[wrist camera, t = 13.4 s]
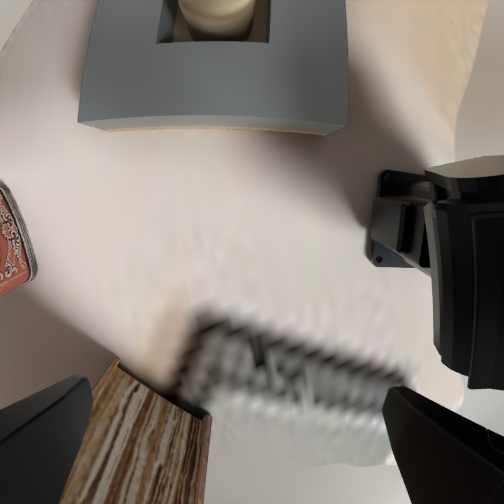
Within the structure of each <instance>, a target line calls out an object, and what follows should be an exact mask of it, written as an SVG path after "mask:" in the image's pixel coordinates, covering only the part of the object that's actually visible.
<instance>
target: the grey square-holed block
mask: <svg viewBox="0 0 504 504" xmlns="http://www.w3.org/2000/svg"><path fill="white" fill-rule="evenodd" d="M78 123H81V124H84V125H88V126H91V127H95V128H98V129H102V130H105V131H109V132H112V131H126V130H145V129H181V128H208V129H244V130H263V131H278V132H291V133H302V134H313V135H322V136H326V135H328V134H331V133H333V132H335V131H337V130H339V129H342V128H344V127H346V126H348V41H347V19H346V3H345V0H255V8H254V17H253V26H252V31H251V33H250V35H249V37H248V38H247V39H246V40H245V41H244V42H233V41H200V42H195V41H194V40H193V39H192V37H191V35H190V33H189V30H188V27H187V24H186V22H185V19H184V16H183V13H182V10H181V8H180V5H179V2H178V0H99V1H98V5H97V8H96V12H95V16H94V21H93V25H92V29H91V34H90V39H89V44H88V49H87V54H86V60H85V66H84V72H83V79H82V86H81V94H80V102H79V112H78Z"/></svg>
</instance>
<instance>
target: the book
mask: <svg viewBox="0 0 504 504" xmlns="http://www.w3.org/2000/svg"><path fill="white" fill-rule="evenodd" d="M119 362H120V360H119V359H117V358H115V359H114V360H113V361H112V363H111V364H110V366H109V367H108V368H107V370H106V371H105V373H104V374H103V376H102V377H101V378H100V380H99V381H98V383H97V384H96V386H95V387H94V389H93V390H92V395H93V400H94V402H93V407H92V411H91V414H90V417H89V421H88V424H87V428H86V431H85V435H84V438H83V442H82V445H81V447H80V450H79V452H78V455H77V457H76V460H75V462H74V465H73V467H72V470H71V472H70V475H69V478H68V480H67V483H66V486H65V488H64V491H63V494H62V496H61V499H60V502H59V504H203V503H204V493H205V482H206V472H207V463H208V453H209V443H210V434H211V425H212V417H211V416H209V415H208V414H207V415H206V416H204V417H203V418H202V419H201V420H199V419H198V418H196V417H194V416H192V415H191V414H189V413H187V412H186V411H184V410H182V409H181V408H179V407H177V406H176V405H174V404H172V403H171V402H169V401H167V400H166V399H164V398H163V397H161V396H160V395H158V394H156V393H155V392H153V391H152V390H150V389H149V388H147V387H146V386H144V385H143V384H141V383H140V382H138V381H137V380H135V379H134V378H133V377H131V376H130V375H128V374H127V373H125V372H124V371H123V370H121V369H120V368H118V367H117V365H118V363H119Z"/></svg>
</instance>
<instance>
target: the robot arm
mask: <svg viewBox="0 0 504 504" xmlns="http://www.w3.org/2000/svg"><path fill="white" fill-rule="evenodd" d="M424 170H425V175H426V176H423V175H417V174H411V173H405V172H399V171H392V170H382V171H381V172H380V173H379V176H378V189H377V198H376V199H375V200H374V204H373V215H372V225H371V234H370V237H371V238H372V239H373V241H372V249H371V257H370V260H371V263H372V264H373V265H375V266H377V267H402V268H417V269H419V270H420V271H422V272H424V273H425V274H427V275H429V276H430V277H431V279H432V296H433V328H434V345H435V347H436V349H437V351H438V353H439V354H440V355H441V362H442V363H443V364H444V365H446V366H447V367H448V368H450V369H451V370H453V371H455V372H458V373H460V374H462V375H465V376H468V377H469V378H468V385H467V387H468V388H469V389H497V390H504V155H501V156H500V155H499V156H483V157H478V158H473V159H468V160H464V161H459V162H454V163H449V164H445V165H440V166H436V167H431V168H427V169H424ZM385 174H387V175H388V180H387V181H385V179H384V176H385ZM378 256H380V260H379V261H378V262H376V258H377V257H378ZM93 402H94V400H93V395H92V391H91V387H90V384H89V380H88V378H87V377H85V376H80V375H73V376H71V377H69V378H67V379H65V380H63V381H61V382H59V383H56V384H54V385H52V386H50V387H48V388H46V389H44V390H42V391H40V392H38V393H35V394H33V395H31V396H29V397H27V398H25V399H23V400H21V401H18V402H16V403H14V404H12V405H10V406H8V407H5V408H3V409H1V410H0V504H59V502H60V499H61V496H62V494H63V491H64V488H65V486H66V483H67V480H68V478H69V475H70V472H71V470H72V467H73V465H74V462H75V460H76V457H77V455H78V452H79V450H80V447H81V445H82V442H83V438H84V435H85V431H86V428H87V424H88V421H89V417H90V414H91V411H92V407H93ZM382 413H383V417H384V421H385V425H386V428H387V432H388V436H389V440H390V444H391V448H392V451H393V454H394V457H395V460H396V462H397V465H398V467H399V470H400V473H401V476H402V478H403V481H404V484H405V486H406V489H407V492H408V495H409V498H410V500H411V503H412V504H504V436H502V435H499V434H497V433H495V432H493V431H491V430H489V429H487V430H486V428H485V427H483V426H481V425H479V424H477V423H475V422H473V421H471V420H469V419H467V418H465V417H462V416H461V415H459V414H457V413H455V412H453V411H451V410H449V409H447V408H445V407H443V406H441V405H439V404H438V403H436V402H434V401H432V400H430V399H428V398H426V397H424V396H422V395H420V394H419V393H417V392H415V391H413V390H411V389H409V388H407V387H405V386H404V385H397V386H392V387H390V388H389V390H388V393H387V396H386V398H385V401H384V404H383V408H382Z"/></svg>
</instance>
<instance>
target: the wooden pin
mask: <svg viewBox="0 0 504 504" xmlns="http://www.w3.org/2000/svg"><path fill="white" fill-rule="evenodd" d="M178 2H179V5H180V8H181V10H182V13H183V16H184V19H185V22H186V24H187V27H188V30H189V33H190V35H191V37H192V39H193V40H194V41H195V42H200V41H233V42H244V41H245V40H246V39H247V38H248V37H249V35H250V33H251V31H252V26H253V17H254V8H255V0H178Z"/></svg>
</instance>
